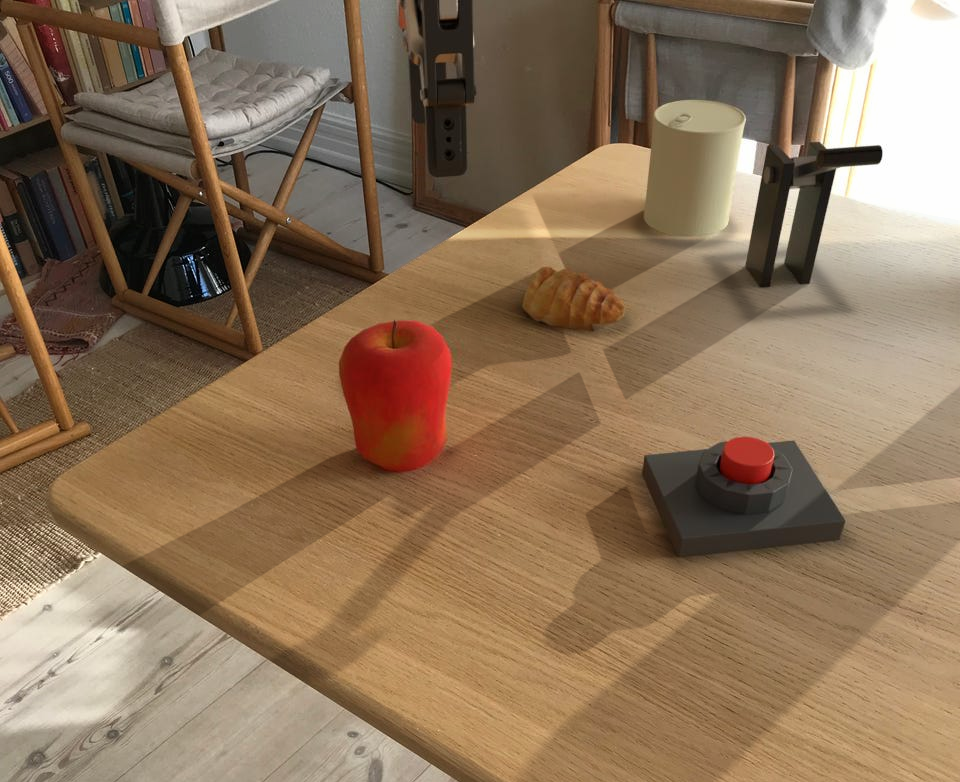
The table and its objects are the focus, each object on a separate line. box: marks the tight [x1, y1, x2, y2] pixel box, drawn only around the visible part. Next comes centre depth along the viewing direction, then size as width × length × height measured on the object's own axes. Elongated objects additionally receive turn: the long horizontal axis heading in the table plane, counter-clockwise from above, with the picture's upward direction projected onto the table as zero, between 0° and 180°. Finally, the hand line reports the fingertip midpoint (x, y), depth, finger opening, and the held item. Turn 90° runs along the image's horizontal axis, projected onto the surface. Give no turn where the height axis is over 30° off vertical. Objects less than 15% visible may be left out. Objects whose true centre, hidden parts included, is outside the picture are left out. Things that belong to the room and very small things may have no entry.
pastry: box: [521, 266, 627, 332], centre depth 97 cm, size 9×7×4 cm
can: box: [643, 99, 747, 238], centre depth 107 cm, size 9×9×12 cm
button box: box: [641, 440, 846, 559], centre depth 76 cm, size 12×10×4 cm
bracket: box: [745, 141, 837, 289], centre depth 98 cm, size 12×9×13 cm
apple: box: [338, 319, 453, 473], centre depth 79 cm, size 9×8×12 cm
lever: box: [789, 144, 883, 190], centre depth 90 cm, size 12×5×2 cm, turn 9°
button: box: [720, 436, 774, 485], centre depth 75 cm, size 4×4×2 cm
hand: (437, 146), depth 62 cm, fingers open, 8 cm apart
